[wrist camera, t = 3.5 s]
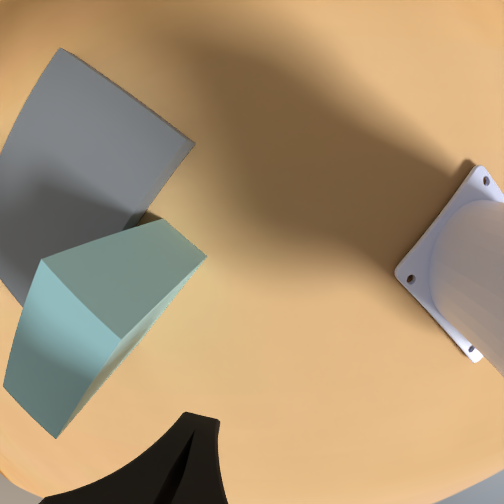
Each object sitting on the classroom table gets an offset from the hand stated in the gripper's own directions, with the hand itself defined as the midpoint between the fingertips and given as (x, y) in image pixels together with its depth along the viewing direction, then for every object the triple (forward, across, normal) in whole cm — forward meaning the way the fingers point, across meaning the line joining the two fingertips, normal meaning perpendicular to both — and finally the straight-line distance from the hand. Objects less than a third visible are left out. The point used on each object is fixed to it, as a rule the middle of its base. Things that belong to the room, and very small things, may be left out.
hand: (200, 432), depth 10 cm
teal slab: (+7, +5, -3) cm, 9 cm away
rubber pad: (+6, +12, -7) cm, 15 cm away
